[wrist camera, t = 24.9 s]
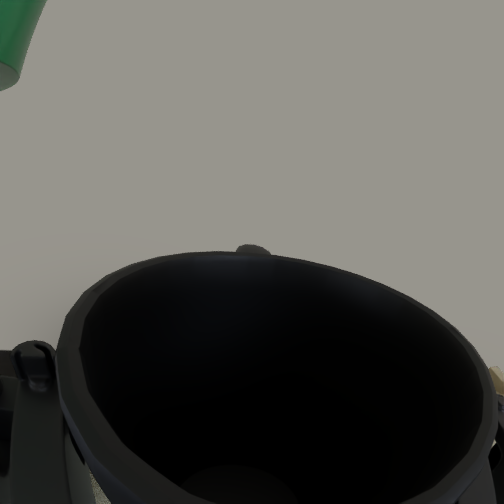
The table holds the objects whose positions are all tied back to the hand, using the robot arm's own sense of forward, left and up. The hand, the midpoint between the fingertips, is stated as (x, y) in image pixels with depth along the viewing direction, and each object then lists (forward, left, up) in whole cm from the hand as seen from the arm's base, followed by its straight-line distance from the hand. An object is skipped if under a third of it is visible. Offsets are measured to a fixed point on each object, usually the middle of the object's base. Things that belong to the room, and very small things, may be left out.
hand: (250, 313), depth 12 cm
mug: (-5, +1, -6) cm, 8 cm away
